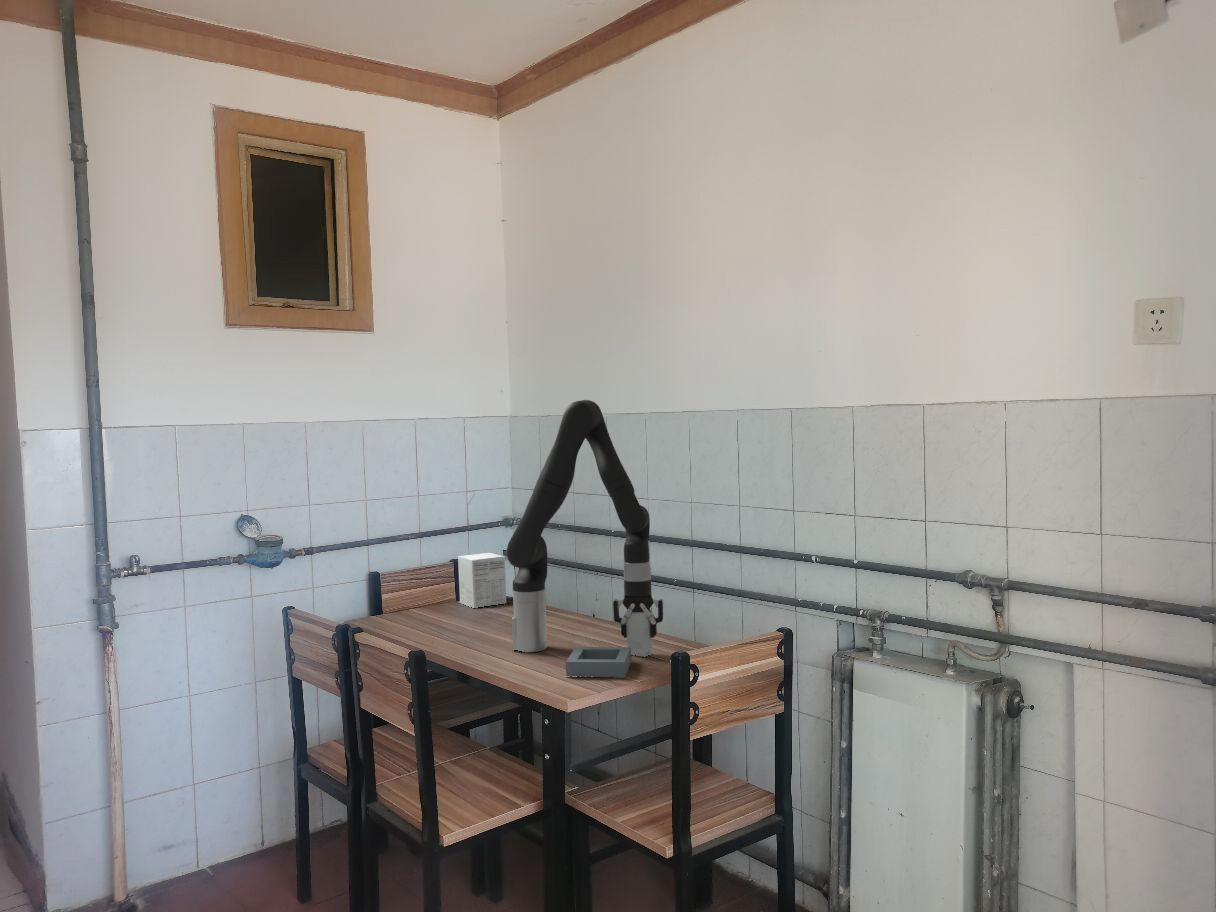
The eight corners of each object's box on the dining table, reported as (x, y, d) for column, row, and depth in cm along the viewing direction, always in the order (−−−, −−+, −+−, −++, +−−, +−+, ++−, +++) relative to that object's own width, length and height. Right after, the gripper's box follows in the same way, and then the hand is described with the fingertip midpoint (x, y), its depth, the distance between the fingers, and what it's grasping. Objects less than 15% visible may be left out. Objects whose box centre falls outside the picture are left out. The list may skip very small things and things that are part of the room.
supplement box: (507, 604, 326) (505, 556, 325) (473, 609, 319) (471, 560, 319) (492, 598, 337) (490, 552, 337) (458, 603, 330) (457, 555, 330)
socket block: (566, 677, 230) (565, 661, 230) (576, 661, 245) (575, 647, 245) (624, 677, 228) (624, 662, 228) (631, 661, 243) (630, 647, 243)
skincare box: (653, 654, 250) (652, 610, 250) (644, 657, 247) (643, 613, 246) (635, 651, 254) (634, 608, 254) (626, 655, 250) (624, 611, 250)
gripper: (609, 580, 247) (611, 640, 247) (662, 580, 245) (664, 640, 246) (613, 575, 254) (615, 634, 255) (664, 575, 252) (666, 634, 253)
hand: (639, 637), depth 250 cm, fingers closed on skincare box, 7 cm apart
